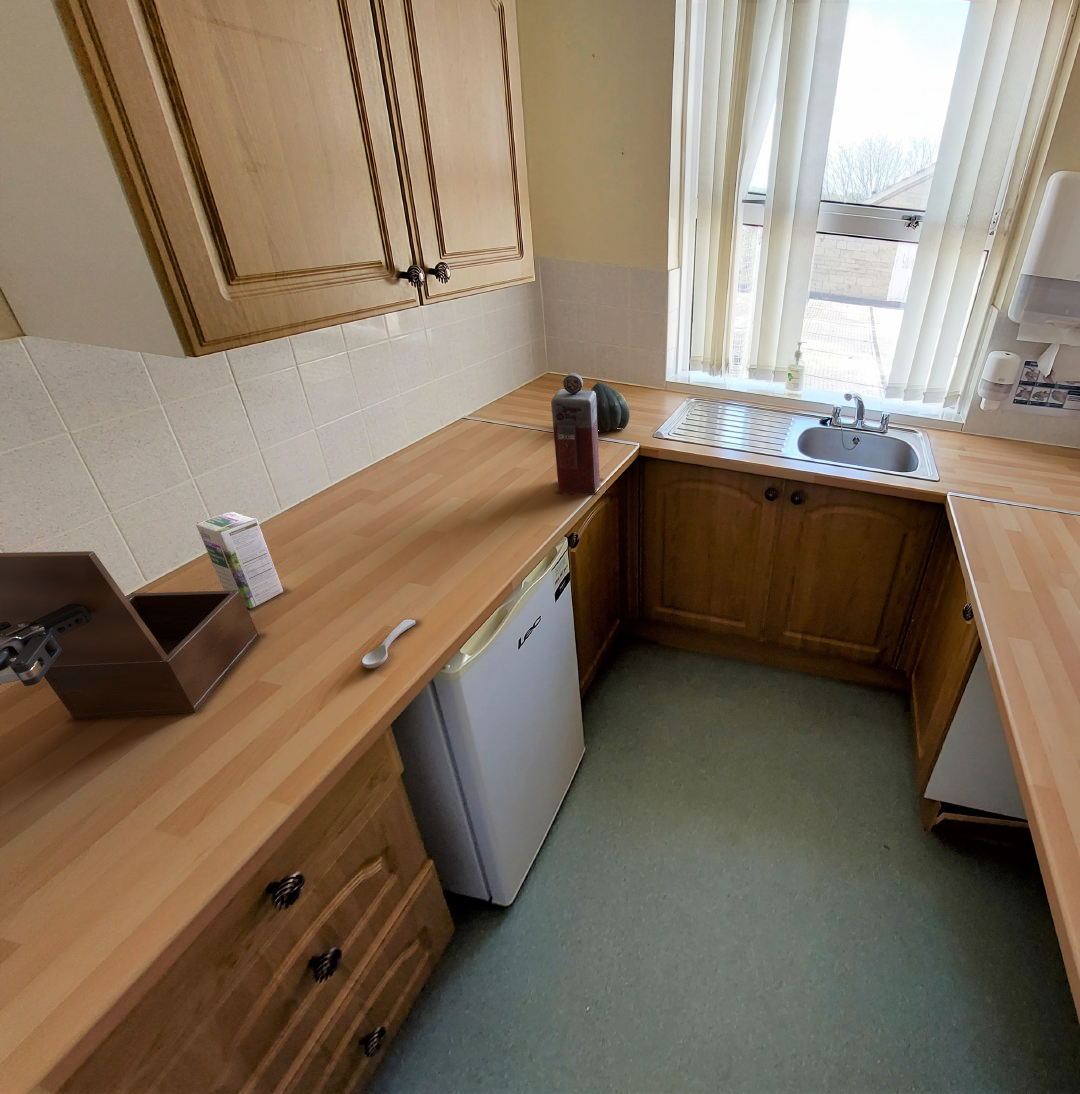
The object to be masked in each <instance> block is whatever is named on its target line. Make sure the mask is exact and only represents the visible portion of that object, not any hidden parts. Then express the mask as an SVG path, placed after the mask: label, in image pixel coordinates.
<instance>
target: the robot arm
mask: <svg viewBox="0 0 1080 1094" xmlns="http://www.w3.org/2000/svg"><path fill="white" fill-rule="evenodd" d="M91 619H92V618H91V615H90V614H89V612H88V611H87V609H86V607H84V606H80V605H75V604H68V605H66V606H64V607H62V608H60V609H58V610H55V611H53V612H51V613H49V614H47V615H45V616H43V617H41V618H39V619H37V620H35V621H33V622H30V621H24V622H20V623H18V624H15V625H13V626H11V624H10V623H9V622H1V623H0V686H1V685H2V684H3V685H4V684H8V683H13V682H14V683H15V682H21V684H22V685H23V686H24V687H30V686H34V685H37V684H38V683H40V682H41V681H42V680H43V679H44V678H45V677H44V675H45V674H46V673H47V671H48V670H49V668H50V667H51V665H52V664H53V663H54V661H55V660H56V658H57V657H58V655H59V654H60V653H61V651H62V649H61V647H60V646H59V644H58V643H57V641H56V640H57V639H58V638H60V637H61V636H63V635H65V634H67V633H69V632H71V631H73V630H75V629H77V628H79V627H81V626H83V625H85V624H86V623H88V622H90V621H91Z"/></svg>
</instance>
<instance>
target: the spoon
mask: <svg viewBox="0 0 1080 1094" xmlns="http://www.w3.org/2000/svg"><path fill="white" fill-rule="evenodd" d="M415 625H416V620H415V619H409V618H408V619H403V620H402V621H401V622H400V623H399V624H398V625H397V626H396V627H395V628H393V630H392V631H391V632H390V633H389V634H388V635H387V636H386V637H385V638H384V640H383V641H382V643H380V645H379V646H378V647H376V649H374V650H372V651H369V652H368V653H366V654H365V656H364V657H362V660H361V665H362V666H363V667H364V668H366V669H376V668H377V667H380V666H381V665H383V664H384V663H385V662H386V660H387V659H388V648H389V647H390V646H391V644H392V643H393V642H394V641H395V640H396V639H397V638H398V637H399V636H400V635H401V634H402V633H404V632H406V631H407V630H408V629H410V628H412V627H413V626H415Z"/></svg>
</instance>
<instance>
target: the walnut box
mask: <svg viewBox="0 0 1080 1094" xmlns="http://www.w3.org/2000/svg"><path fill="white" fill-rule="evenodd" d="M126 598H127V599H128V601H129V602H130V603H131V605H132V606H133V608H134V609H135V611H136V612H137V613H138V615H139V616H140V618H141V619H142V620H143V622H144V623H145V625H146V626H147V628H148V629H149V630H150V632H151V633H152V635H153V636H154V637H155V639H156V640H157V642H158V643H159V645H160V646H161V647H162V649H163V650H164V652H165V653H166V654H167V656H168V657H167V658H166V659H165V661H153V662H131V663H109V664H87V665H65V666H51V667H50V668H49V670H48V671H47V673H46V674H45V675H44V677H43V678H44V679H45V680H46V682H47V683H48V685H49V686H50V687H51V689H52V690H53V691H54V693H55V694H56V696H57V698H58V699H59V700H60V702H61V704H62V705H63V706H64V707H65V709H66V710H67V711H68V713H69V714H70V715H71V717H72V718H73V720H85V719H86V720H87V719H98V718H99V719H102V718H119V717H135V716H136V717H137V716H151V715H153V716H155V715H168V714H169V715H170V714H171V715H172V714H188V713H196V712H197V711H198V710H199V709H200V708H201V707H202V705H203V704H204V703H205V702H206V701H207V699H208V698H210V696H211V695H212V693H213V692H214V691H215V690H216V689H217V687H218V686H219V685H220V684H221V683H222V682H223V681H224V679H225V678H226V677H227V676H228V675H229V674H230V672H231V671H232V670H233V669H234V668H235V666H236V665H237V664H238V663H239V662H240V660H241V659H242V658H243V657H244V656H245V654H247V653H248V651H249V650H250V648H252V646H253V645H254V644H255V643H256V641H257V640H258V639H259V638H260V635H259V631H258V630H257V628H256V624H255V623H254V621H253V618H252V616H251V614H250V612H249V608H248V607H246V604H245V602H244V600H243V598H242V595H241V593H240V591H239V590H233V591H224V590H203V591H201V590H200V591H196V590H195V591H166V592H165V591H164V592H163V591H162V592H132V593H130V594H129V595H128V596H126Z"/></svg>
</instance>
